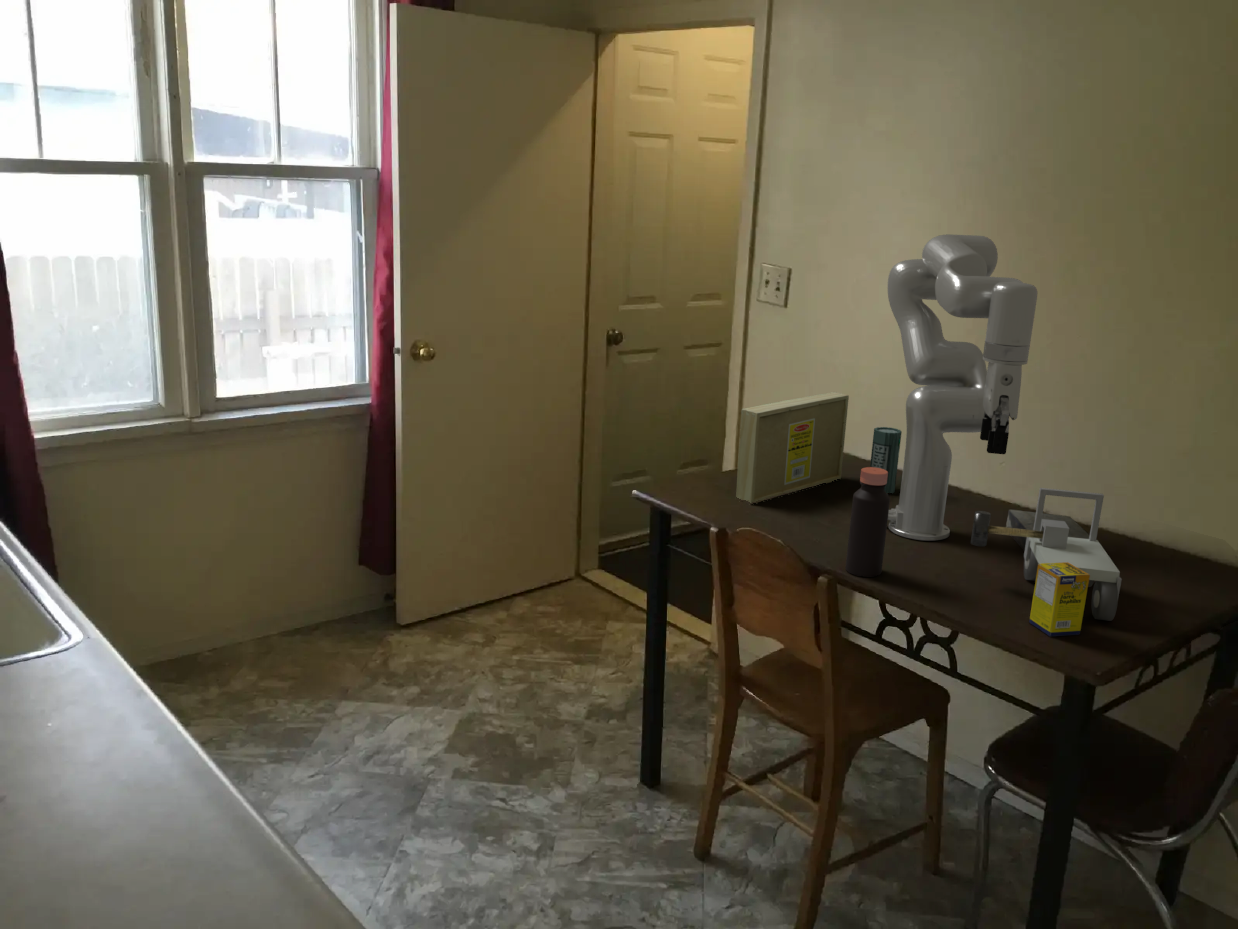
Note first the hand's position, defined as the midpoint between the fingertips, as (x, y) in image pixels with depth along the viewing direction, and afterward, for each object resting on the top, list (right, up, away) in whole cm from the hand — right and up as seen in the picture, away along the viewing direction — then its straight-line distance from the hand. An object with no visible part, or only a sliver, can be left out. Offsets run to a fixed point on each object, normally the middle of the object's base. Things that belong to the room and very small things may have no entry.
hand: (992, 446), depth 189 cm
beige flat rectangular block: (-27, -10, +60) cm, 67 cm away
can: (-4, -10, +63) cm, 64 cm away
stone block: (+22, -21, +29) cm, 42 cm away
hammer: (+4, -18, +4) cm, 19 cm away
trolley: (+14, -28, +1) cm, 31 cm away
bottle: (-21, -24, +10) cm, 33 cm away
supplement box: (+6, -31, -12) cm, 34 cm away
